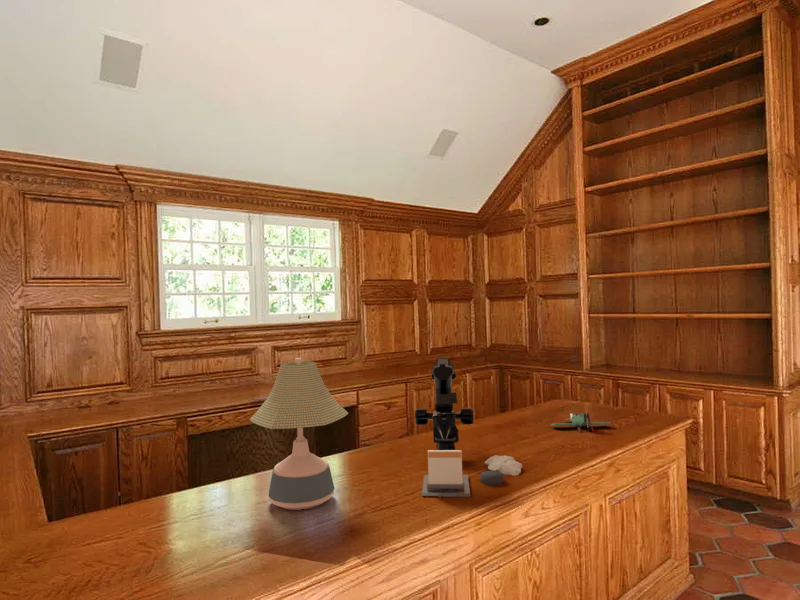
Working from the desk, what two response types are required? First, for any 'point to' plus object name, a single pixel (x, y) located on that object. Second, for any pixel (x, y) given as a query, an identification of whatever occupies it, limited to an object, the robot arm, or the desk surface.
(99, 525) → the desk surface
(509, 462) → the decorative stone
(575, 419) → the toy airplane
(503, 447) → the desk surface
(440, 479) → the bowl
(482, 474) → the grey river pebble
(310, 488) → the desk lamp
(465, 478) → the grey flat slab
